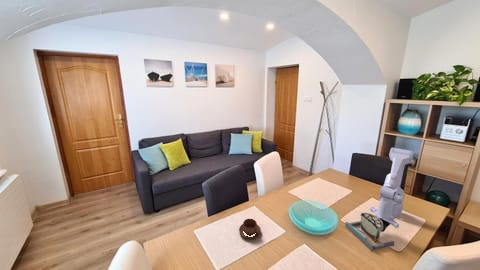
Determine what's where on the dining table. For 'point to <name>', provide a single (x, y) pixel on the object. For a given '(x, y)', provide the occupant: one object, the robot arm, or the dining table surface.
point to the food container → (371, 226)
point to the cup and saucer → (250, 228)
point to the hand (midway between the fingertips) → (380, 230)
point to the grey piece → (363, 239)
